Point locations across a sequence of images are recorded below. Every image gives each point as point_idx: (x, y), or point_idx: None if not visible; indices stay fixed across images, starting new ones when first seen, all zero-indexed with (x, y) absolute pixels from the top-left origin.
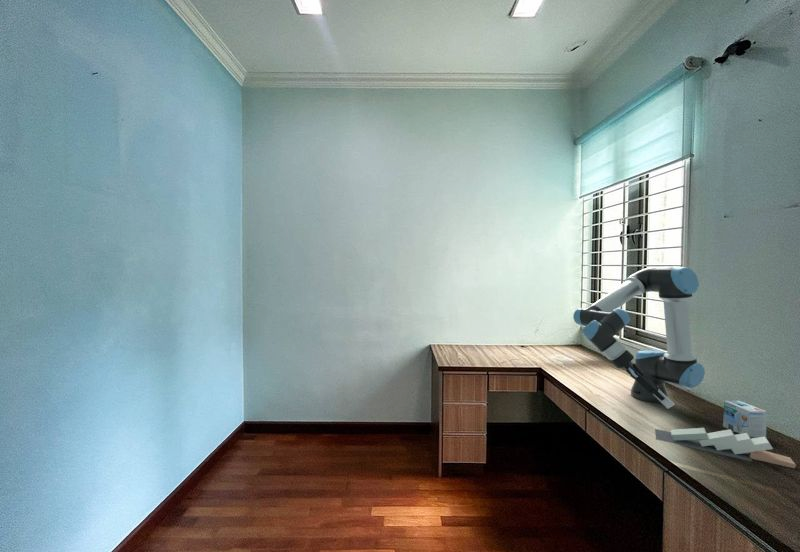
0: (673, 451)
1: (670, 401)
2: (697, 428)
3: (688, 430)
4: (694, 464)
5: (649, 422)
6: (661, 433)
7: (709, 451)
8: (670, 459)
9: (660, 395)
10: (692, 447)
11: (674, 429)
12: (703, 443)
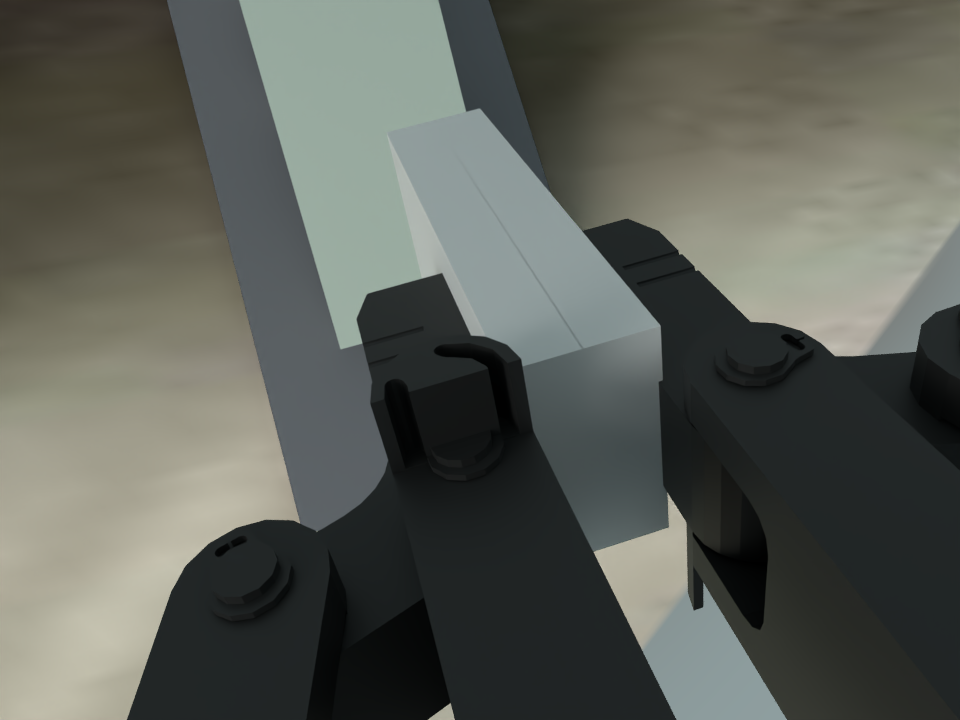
0: (726, 257)
1: (510, 148)
2: (265, 49)
3: (346, 143)
4: (846, 78)
5: (49, 669)
6: None
7: (488, 8)
8: (933, 237)
9: (708, 292)
10: (526, 131)
11: (328, 306)
12: None
